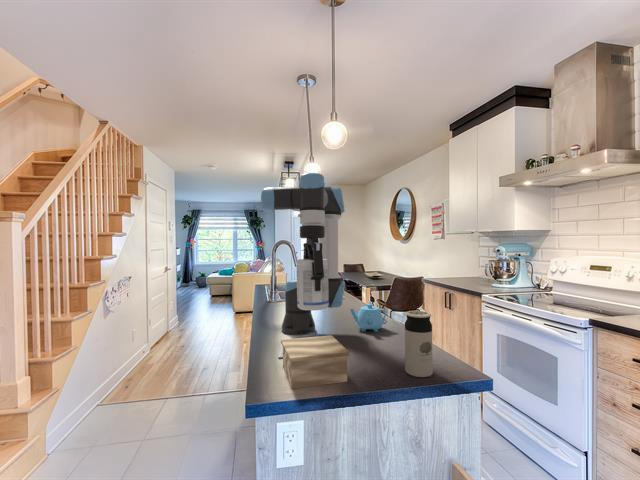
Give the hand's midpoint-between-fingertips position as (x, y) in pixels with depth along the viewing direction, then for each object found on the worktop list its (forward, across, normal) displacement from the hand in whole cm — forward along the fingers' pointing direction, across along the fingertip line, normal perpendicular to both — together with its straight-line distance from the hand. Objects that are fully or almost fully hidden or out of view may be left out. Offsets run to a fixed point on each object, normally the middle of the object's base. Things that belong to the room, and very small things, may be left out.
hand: (312, 299), depth 97 cm
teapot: (+23, -41, +36) cm, 59 cm away
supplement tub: (+3, 0, 0) cm, 3 cm away
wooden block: (+23, 0, 0) cm, 23 cm away
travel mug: (+23, +8, +31) cm, 39 cm away
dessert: (+23, -20, -1) cm, 30 cm away
